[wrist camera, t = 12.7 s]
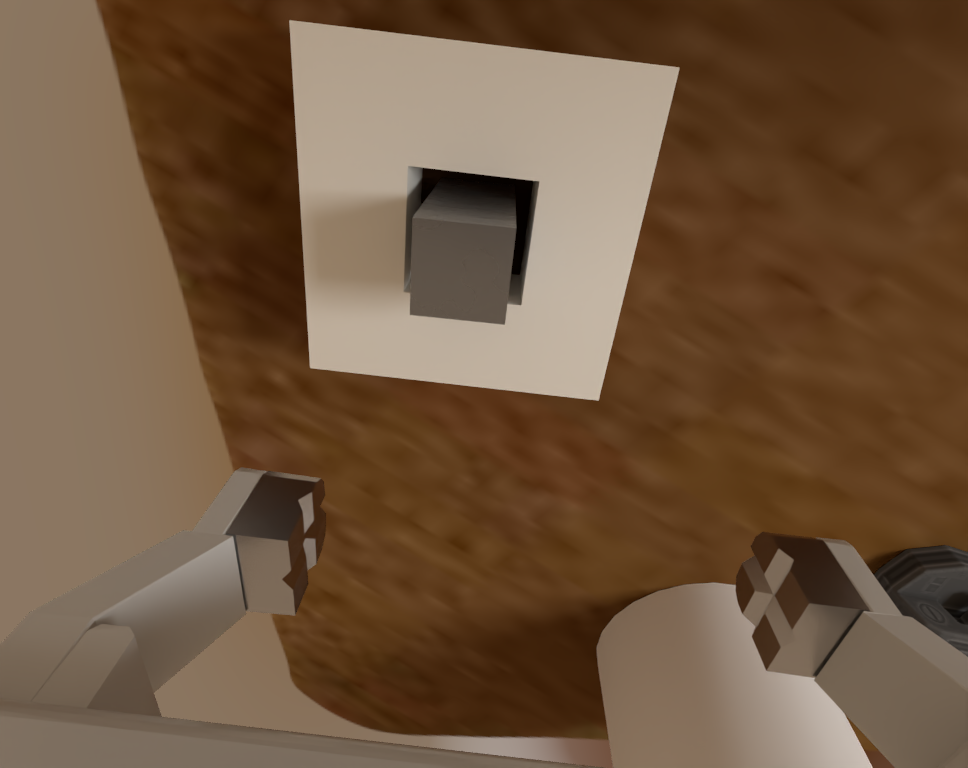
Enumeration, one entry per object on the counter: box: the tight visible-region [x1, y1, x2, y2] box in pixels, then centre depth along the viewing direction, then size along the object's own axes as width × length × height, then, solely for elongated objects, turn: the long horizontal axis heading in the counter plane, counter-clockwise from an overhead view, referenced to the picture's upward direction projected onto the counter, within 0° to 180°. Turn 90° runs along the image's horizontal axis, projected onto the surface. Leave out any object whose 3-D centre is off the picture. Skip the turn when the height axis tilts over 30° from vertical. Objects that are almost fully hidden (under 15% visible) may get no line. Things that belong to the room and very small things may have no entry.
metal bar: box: [410, 177, 517, 325], centre depth 26 cm, size 4×4×10 cm
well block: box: [289, 20, 680, 400], centre depth 28 cm, size 16×16×5 cm
